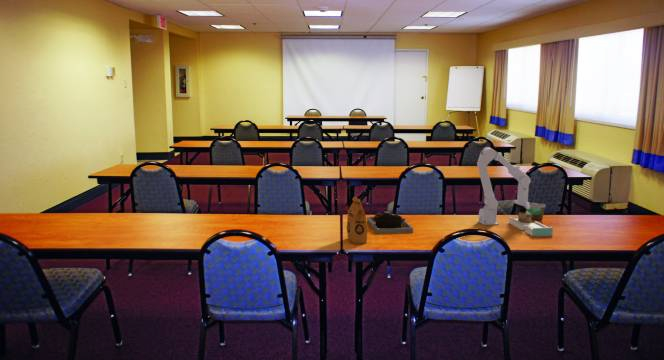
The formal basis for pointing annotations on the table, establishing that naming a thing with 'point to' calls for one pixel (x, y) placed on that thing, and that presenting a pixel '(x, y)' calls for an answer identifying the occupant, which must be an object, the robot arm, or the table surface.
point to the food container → (536, 211)
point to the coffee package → (357, 223)
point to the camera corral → (390, 230)
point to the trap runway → (532, 228)
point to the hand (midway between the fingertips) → (520, 218)
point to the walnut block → (524, 217)
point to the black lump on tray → (388, 220)
